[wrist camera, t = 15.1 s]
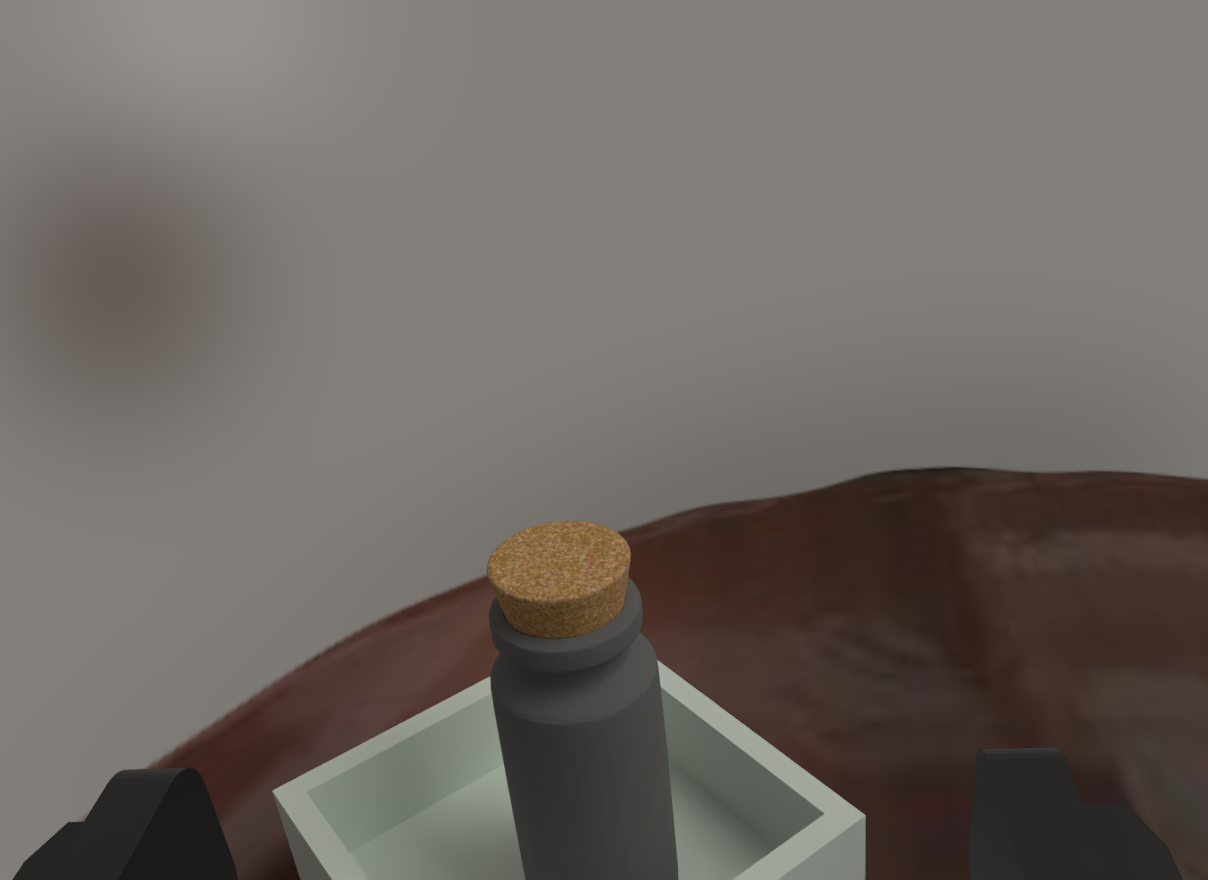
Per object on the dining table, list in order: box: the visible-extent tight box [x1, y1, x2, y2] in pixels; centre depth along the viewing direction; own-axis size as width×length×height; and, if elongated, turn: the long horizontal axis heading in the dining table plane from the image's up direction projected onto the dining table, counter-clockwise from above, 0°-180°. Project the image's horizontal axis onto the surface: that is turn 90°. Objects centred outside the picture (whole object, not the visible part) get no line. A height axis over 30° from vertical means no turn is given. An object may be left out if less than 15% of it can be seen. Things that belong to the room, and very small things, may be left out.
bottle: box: [487, 521, 678, 880], centre depth 40 cm, size 6×6×15 cm
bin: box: [272, 660, 866, 880], centre depth 44 cm, size 16×16×5 cm
